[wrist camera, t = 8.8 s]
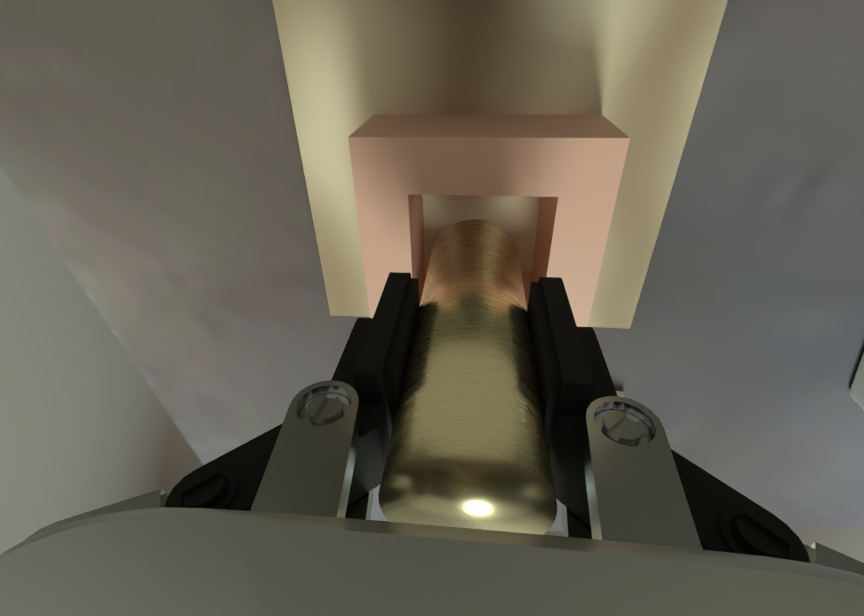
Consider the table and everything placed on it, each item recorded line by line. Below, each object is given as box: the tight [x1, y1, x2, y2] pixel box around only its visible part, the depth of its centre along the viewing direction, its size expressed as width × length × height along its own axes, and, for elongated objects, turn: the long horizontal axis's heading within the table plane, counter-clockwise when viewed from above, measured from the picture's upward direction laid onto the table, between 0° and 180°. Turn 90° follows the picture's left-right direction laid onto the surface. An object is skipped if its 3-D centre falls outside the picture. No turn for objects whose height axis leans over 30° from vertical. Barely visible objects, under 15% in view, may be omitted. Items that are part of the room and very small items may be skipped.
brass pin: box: [379, 219, 557, 535], centre depth 11 cm, size 3×3×9 cm
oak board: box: [273, 0, 728, 328], centre depth 15 cm, size 14×22×2 cm, turn 1°
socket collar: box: [348, 115, 630, 327], centre depth 16 cm, size 8×8×4 cm
